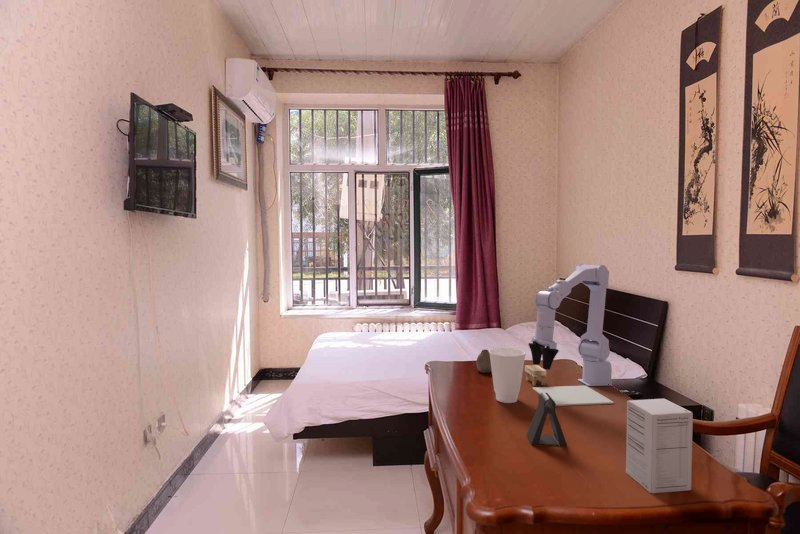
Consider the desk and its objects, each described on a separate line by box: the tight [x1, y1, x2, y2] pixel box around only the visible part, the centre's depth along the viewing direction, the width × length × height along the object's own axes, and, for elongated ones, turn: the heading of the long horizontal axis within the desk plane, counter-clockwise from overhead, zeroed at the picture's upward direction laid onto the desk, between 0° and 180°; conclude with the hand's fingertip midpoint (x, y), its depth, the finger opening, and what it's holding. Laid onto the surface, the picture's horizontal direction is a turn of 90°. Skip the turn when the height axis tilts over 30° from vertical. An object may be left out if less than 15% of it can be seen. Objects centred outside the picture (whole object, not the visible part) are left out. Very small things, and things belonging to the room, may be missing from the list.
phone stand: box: [526, 393, 568, 447], centre depth 124 cm, size 9×6×12 cm, turn 86°
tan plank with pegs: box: [524, 364, 547, 387], centre depth 176 cm, size 5×8×6 cm, turn 7°
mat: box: [531, 384, 615, 407], centre depth 161 cm, size 20×18×1 cm
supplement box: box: [625, 398, 694, 494], centre depth 103 cm, size 10×9×17 cm
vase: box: [475, 349, 492, 374], centre depth 191 cm, size 7×7×9 cm
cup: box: [488, 347, 527, 404], centre depth 156 cm, size 12×12×16 cm
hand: (541, 366), depth 159 cm, fingers open, 7 cm apart
